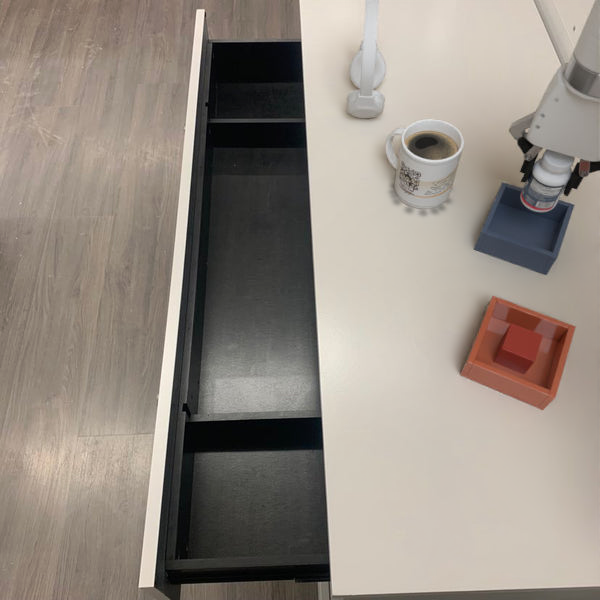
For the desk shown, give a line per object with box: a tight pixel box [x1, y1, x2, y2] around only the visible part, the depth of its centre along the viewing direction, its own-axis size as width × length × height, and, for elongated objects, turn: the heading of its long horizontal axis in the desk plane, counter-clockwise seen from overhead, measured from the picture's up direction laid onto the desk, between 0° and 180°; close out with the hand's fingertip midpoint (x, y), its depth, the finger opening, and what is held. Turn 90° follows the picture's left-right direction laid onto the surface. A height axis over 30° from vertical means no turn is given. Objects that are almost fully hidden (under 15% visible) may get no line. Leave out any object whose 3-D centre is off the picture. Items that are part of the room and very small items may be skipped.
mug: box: [384, 118, 465, 210], centre depth 89 cm, size 10×12×11 cm
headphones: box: [346, 0, 387, 119], centre depth 97 cm, size 7×18×20 cm, turn 174°
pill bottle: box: [520, 149, 576, 212], centre depth 76 cm, size 5×5×9 cm
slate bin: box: [473, 181, 575, 276], centre depth 85 cm, size 12×12×5 cm
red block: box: [493, 323, 543, 374], centre depth 73 cm, size 4×4×4 cm
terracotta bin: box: [459, 295, 577, 411], centre depth 74 cm, size 12×12×5 cm
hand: (546, 181), depth 76 cm, fingers closed on pill bottle, 5 cm apart
